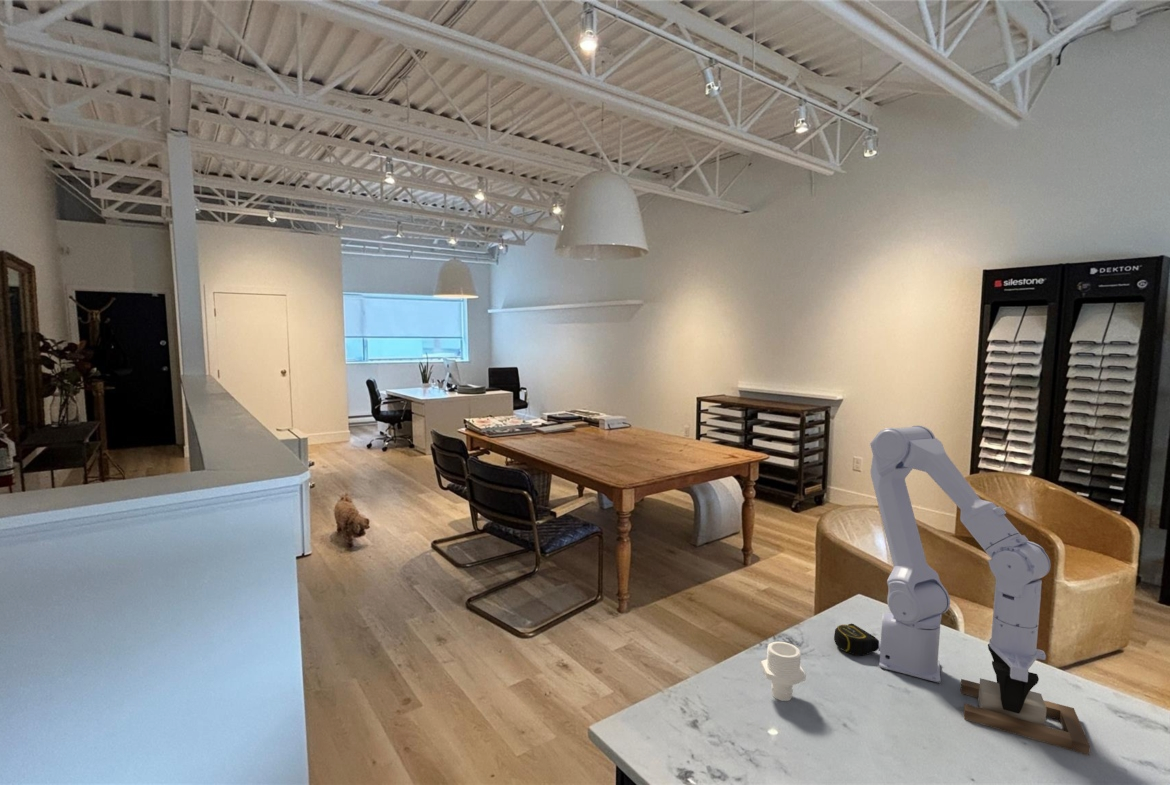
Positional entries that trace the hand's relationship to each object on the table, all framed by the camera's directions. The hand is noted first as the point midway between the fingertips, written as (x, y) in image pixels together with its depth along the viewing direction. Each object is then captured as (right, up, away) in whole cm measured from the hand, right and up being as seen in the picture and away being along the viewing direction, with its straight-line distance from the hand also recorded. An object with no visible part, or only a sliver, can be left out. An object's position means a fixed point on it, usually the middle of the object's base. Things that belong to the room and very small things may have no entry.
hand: (1008, 701), depth 91 cm
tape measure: (-15, -1, +20) cm, 25 cm away
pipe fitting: (-35, -1, +4) cm, 35 cm away
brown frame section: (+1, -2, 0) cm, 2 cm away
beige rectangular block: (0, -2, 0) cm, 2 cm away
